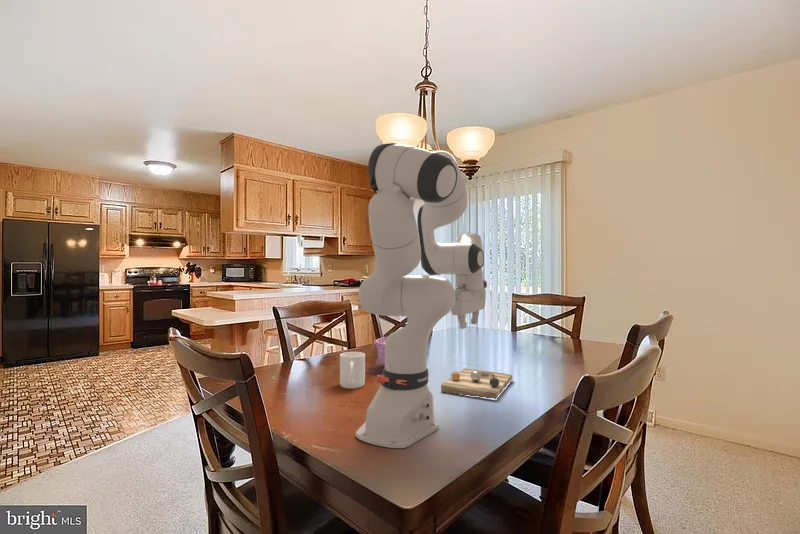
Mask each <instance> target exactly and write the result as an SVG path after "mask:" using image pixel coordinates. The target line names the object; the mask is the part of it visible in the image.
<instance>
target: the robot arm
mask: <svg viewBox="0 0 800 534" xmlns="http://www.w3.org/2000/svg"><path fill="white" fill-rule="evenodd" d="M367 167H368V169H367V171H368V179H369V184H370V188H371V189H372V191H373V192H374V193H375V194H374V195H373V196H372V197H371V199H370V201H369V203H368V209H367V210H368V213H367V214H368V226H369V233H370V238H371V244H372V248H373V252H374V253H373V254H374V261H375V266H374V270H373V271H372V273H371V274H369V276H367V277H365V279H364V280H362V282H361V283H360V285H359V289H358V294H357V296H358V303H359V304H360V307H361V308H362V309H363V310H364V311H365V312H366V313H370V314H373V315H377V316H383V317H384V316H387V317H404V318H407V321H406V325H405V326H403V327H401V328H399V329H397V330H395V331H393V332H392V333H390V334H389V335H388V336H386V337H387V339H386V342H385V366H384V367H383V371H382V373H381V374H377V375H376V377H375V378H376V379H375V381H376V383H377V384H380V387H379V388H378V390H377V392H376V394H375V395H374V396H373V399H372V400H371V402H370V404H369V406H368V408H367V409H366V415H365V422H364V423H363V424H362V425H360V427H359V428H358V429H357V430H356V431H355V437H356V438H357V439H358V440H360V441H361V442H365V443H367V444H371V445H375V446H379V447H385V448H391V449H405V448H408V447H410V446H411V445H413V444H415V443H416V442H418V441H420V440H422V439H423V438H425V437H427V436H429V435H430V434H433V433H434V432H435V431H437V430H439V429H440V425H439V424H440V423H438V422H437V421H436V420H435V411H434V408H435V407H434V397H433V393H432V392H431V390H430V388H429V387H428V383H429V377H430V376H429V369H428V368H427V357H428V346H429V345H428V344H429V339H430V336H431V334H432V331H433V329H434V328H435V326H436V325H437V323H438V322H439V321H440V320H441V319H443V318H444V317H446V316H447V315H448V314H449V313H450V312H451V314H452V316H457V319H458V323H459V328H460V329H461V330H464V329H466V328H467V324H468V323H467V322H466V318H467V315H469V314H471V318H470V324H471V325H477V324H478V321H479V319H478V318H479V315H480V311H481V310H484V309H485V306H486V297H487V296H486V295H487V293H486V288H487V287H488V281H487V280H486V279H484V273H483V269H482V268H483V267H484V265H485V259H484V258H485V257H484V256H485V255H484V254H485V252H484V250H483V249H484V248H483V243H482V237H481V235H479V233H475V232H462V233H458V235H457V238H456V242H438V241H436V239H435V230H437V229H440V228H441V227H445V226H448V225H451V224H453V223H455V222H456V221H457V220H459V219H460V218H461V217H462V216H463V214H464V213H465V212H466V209H467V206H468V194H467V188H466V184H465V181H464V178H463V174H462V172H461V169H460V166H459V165H458V162H457V161H456V158H455V157H454V156H453V154H452V153H449V152H448V151H445V150H435V151H430V150H427V149H424V148H420V147H418V146H414V145H410V144H408V145H407V144H398V143H395V142H389V143H388V142H387V143H382V144H379V145H377V146H376V147H375V148H374V149H373V150H372V152H371V153H370V157H369V159H368V165H367ZM416 200H419V201H420V200H421V201H423V202H424V203H423V204H422V205H421V206H420V207H419V208H418V212H417V220H416V216H415V213H414V205H415V201H416ZM419 264H421V269H422V270H423V271H424V272H425V273H426V274H411V273H412V272H413V271H414V270H416V269H417V267H418V266H419ZM441 275H454V278H455V281H454V285H453V284H452V282H451V281H450V279H448V278H446V277H445V278H444V277H441Z"/></svg>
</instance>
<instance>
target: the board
mask: <svg viewBox="0 0 800 534" xmlns="http://www.w3.org/2000/svg"><path fill="white" fill-rule="evenodd" d="M473 371H478V372H480V374H481V379H480V381H478V382H475V381H473V380H472V379H471V373H472V372H473ZM457 372H458V373H459V374H460V378H459V380H453V379H452V377H451V376H450V378H449V379H447V380H446V381H444V382H443V383H442V384H440V393H443V392H447V393H446V394H449V393H454V394H453V395H455V394H462V395H470V396H479V397H486V398H494V399H496V398H497V397H498V395H499V394H500V393H501V392H502V391H503V389H504V388H505V387H506V386H507V384H508V383H509V382H510V381H511V380H512V381H513V373H504V372H497V371H489V370H482V369H475V368H474V369H473V368H467V367H463V368H462V369H461V370H460V371H457ZM493 377H495V378H497V379H498V380H499V385H498V386H497V387H492V386H491V385H490V379H491V378H493Z"/></svg>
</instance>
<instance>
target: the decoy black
mask: <svg viewBox="0 0 800 534" xmlns="http://www.w3.org/2000/svg"><path fill="white" fill-rule="evenodd" d="M490 385H491V386H492V387H497V386H498V385H499V380H498V379H497V378H495V377H493V378H491V379H490Z"/></svg>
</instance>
